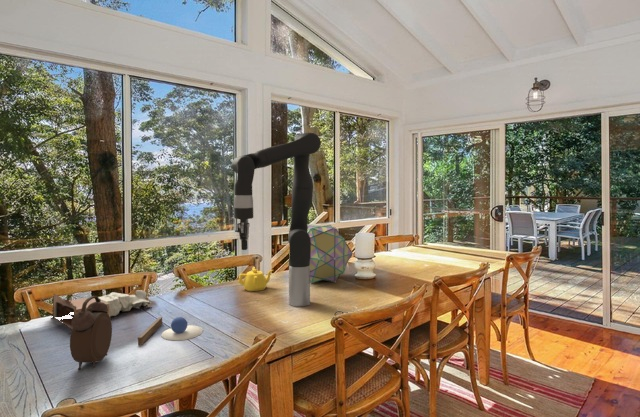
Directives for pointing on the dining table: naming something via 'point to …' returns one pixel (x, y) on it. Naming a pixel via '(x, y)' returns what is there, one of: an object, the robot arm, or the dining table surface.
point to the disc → (187, 334)
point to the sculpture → (327, 253)
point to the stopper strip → (149, 331)
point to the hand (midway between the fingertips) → (244, 249)
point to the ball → (179, 325)
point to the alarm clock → (91, 333)
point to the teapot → (254, 280)
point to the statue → (112, 301)
